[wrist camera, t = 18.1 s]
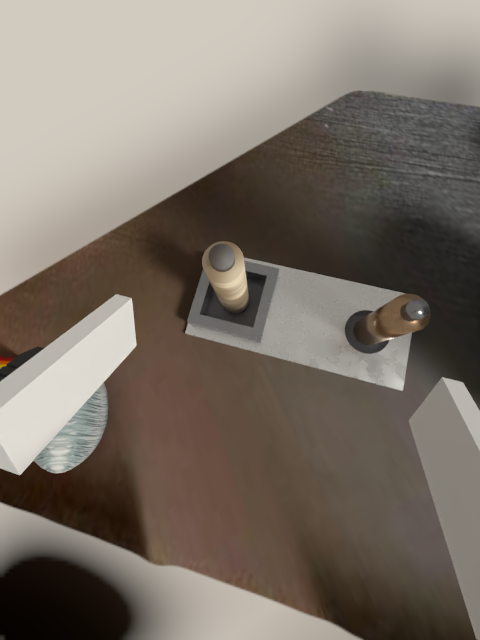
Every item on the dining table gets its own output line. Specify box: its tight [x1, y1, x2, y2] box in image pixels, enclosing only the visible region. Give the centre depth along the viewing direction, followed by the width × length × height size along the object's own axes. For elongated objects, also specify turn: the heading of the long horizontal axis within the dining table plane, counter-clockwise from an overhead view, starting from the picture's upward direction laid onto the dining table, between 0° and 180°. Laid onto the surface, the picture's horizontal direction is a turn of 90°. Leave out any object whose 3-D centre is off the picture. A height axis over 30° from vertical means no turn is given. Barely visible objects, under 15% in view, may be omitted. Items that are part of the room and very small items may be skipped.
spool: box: [34, 382, 108, 473], centre depth 38 cm, size 14×10×10 cm
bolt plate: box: [185, 258, 431, 391], centre depth 36 cm, size 32×14×14 cm, turn 75°
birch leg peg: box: [202, 241, 249, 313], centre depth 36 cm, size 4×4×15 cm
